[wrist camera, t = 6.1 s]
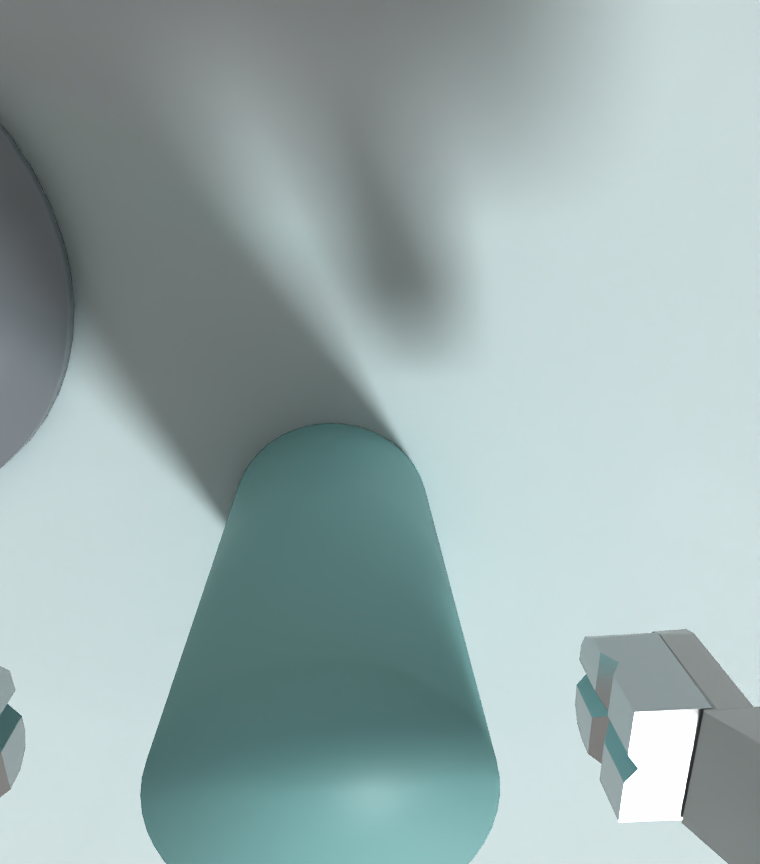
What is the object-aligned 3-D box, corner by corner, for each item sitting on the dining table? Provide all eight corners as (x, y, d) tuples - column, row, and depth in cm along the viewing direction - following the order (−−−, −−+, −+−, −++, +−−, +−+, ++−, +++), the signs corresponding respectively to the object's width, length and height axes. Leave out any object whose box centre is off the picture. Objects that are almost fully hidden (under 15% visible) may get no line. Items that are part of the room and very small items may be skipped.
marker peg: (429, 420, 14) (509, 649, 7) (426, 591, 15) (491, 915, 8) (226, 426, 13) (114, 665, 7) (243, 598, 15) (163, 934, 8)
